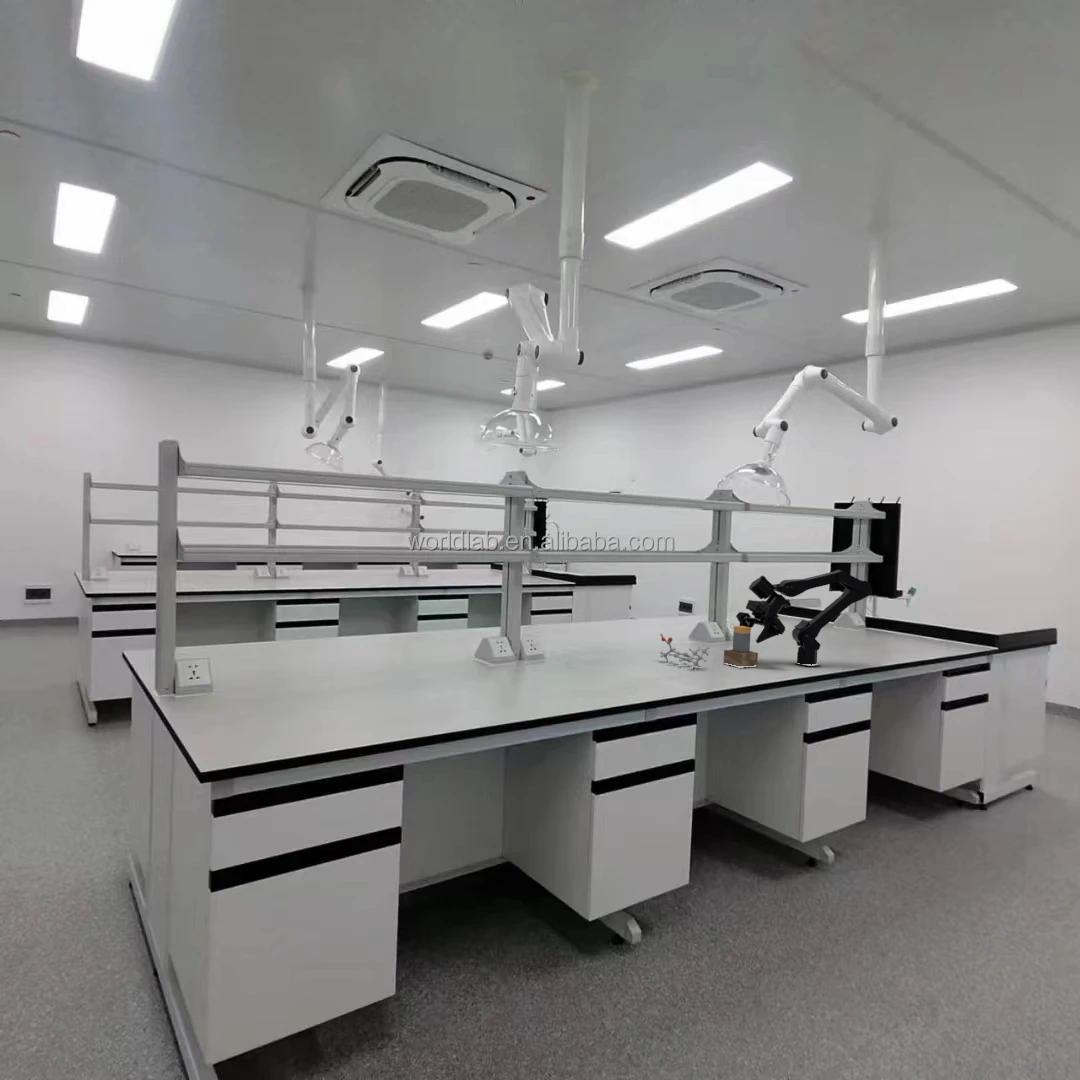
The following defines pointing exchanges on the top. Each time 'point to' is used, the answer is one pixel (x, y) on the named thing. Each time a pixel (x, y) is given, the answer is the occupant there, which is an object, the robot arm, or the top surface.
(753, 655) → the open wooden box
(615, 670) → the top surface
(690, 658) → the molecular model
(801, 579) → the robot arm
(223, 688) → the top surface
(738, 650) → the grey orange tall block
